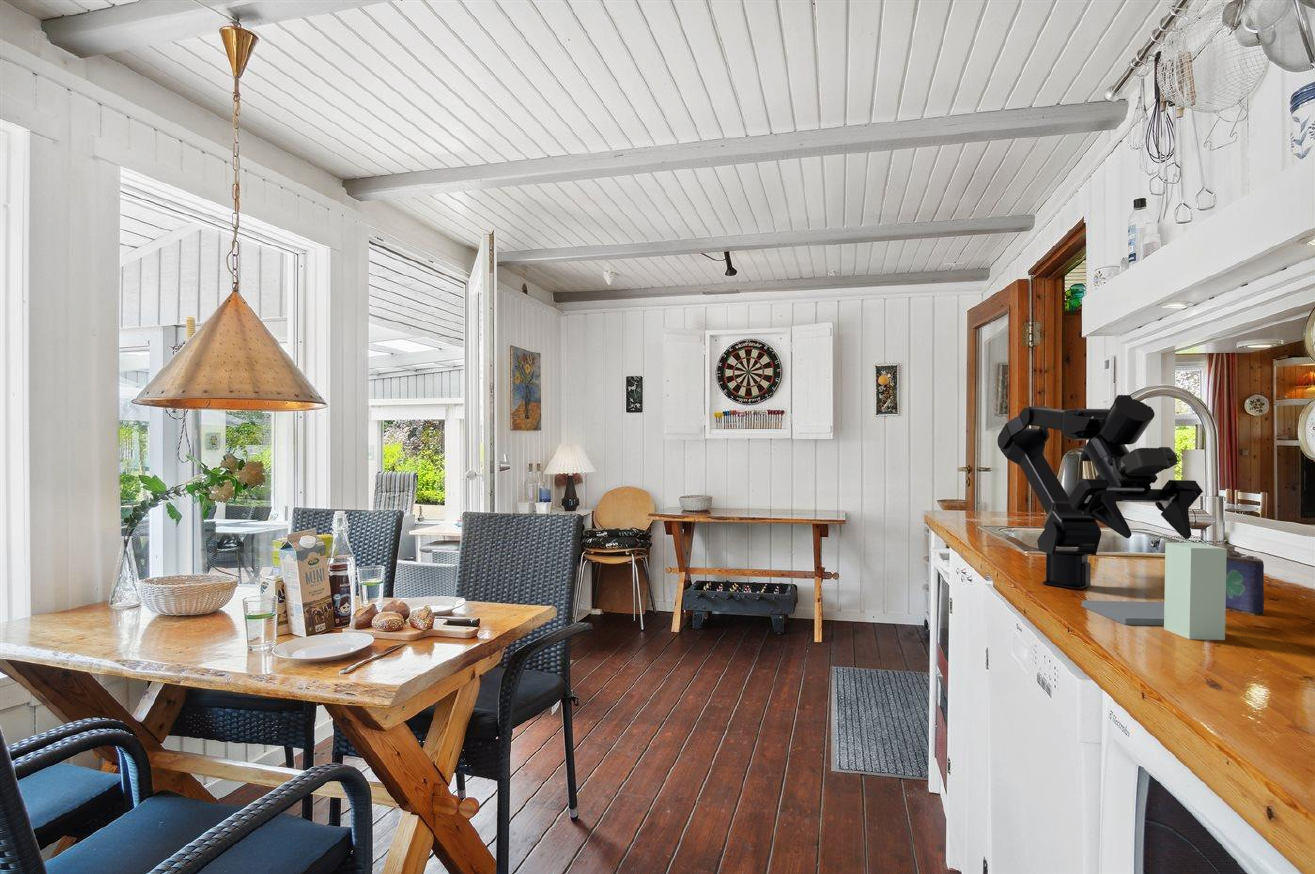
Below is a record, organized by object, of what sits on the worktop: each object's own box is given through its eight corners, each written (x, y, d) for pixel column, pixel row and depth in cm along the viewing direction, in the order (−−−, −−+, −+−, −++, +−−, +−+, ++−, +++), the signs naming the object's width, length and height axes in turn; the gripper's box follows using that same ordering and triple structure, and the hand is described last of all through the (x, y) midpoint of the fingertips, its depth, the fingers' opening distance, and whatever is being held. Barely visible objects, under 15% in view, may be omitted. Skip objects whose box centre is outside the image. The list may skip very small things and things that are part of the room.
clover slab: (1193, 603, 119) (1194, 541, 119) (1201, 601, 120) (1203, 540, 120) (1259, 616, 111) (1261, 550, 111) (1268, 614, 112) (1269, 549, 112)
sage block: (1164, 629, 103) (1165, 542, 103) (1197, 629, 103) (1199, 542, 103) (1189, 639, 98) (1191, 548, 98) (1224, 639, 98) (1226, 548, 98)
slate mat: (1081, 606, 116) (1081, 600, 116) (1165, 607, 116) (1165, 601, 116) (1125, 624, 105) (1125, 618, 105) (1218, 626, 105) (1218, 619, 105)
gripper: (1080, 429, 113) (1123, 503, 102) (1194, 431, 112) (1251, 505, 102) (1052, 474, 121) (1090, 547, 110) (1159, 476, 120) (1208, 549, 109)
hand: (1159, 537), depth 107 cm, fingers open, 9 cm apart
